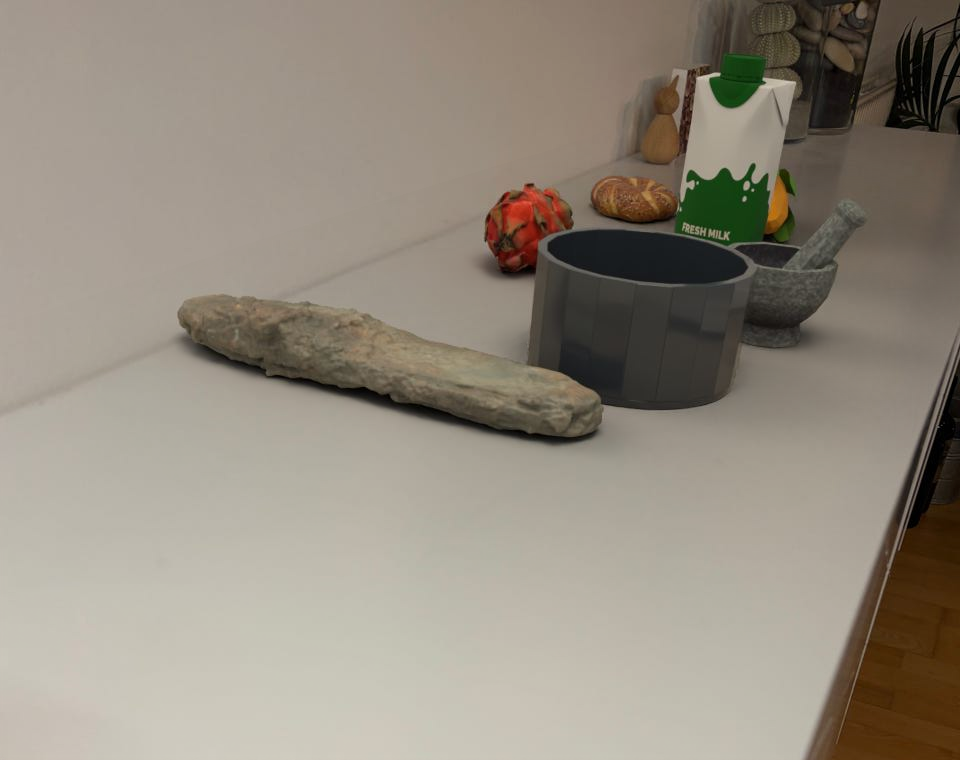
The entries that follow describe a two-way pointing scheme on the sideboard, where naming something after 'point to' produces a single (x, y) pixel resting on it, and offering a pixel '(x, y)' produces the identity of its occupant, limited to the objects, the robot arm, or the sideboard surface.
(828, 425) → the sideboard surface
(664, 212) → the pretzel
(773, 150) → the milk carton
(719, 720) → the sideboard surface
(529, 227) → the dragon fruit
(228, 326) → the long grey stone
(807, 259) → the mortar and pestle
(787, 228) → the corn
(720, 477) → the sideboard surface
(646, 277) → the pot
